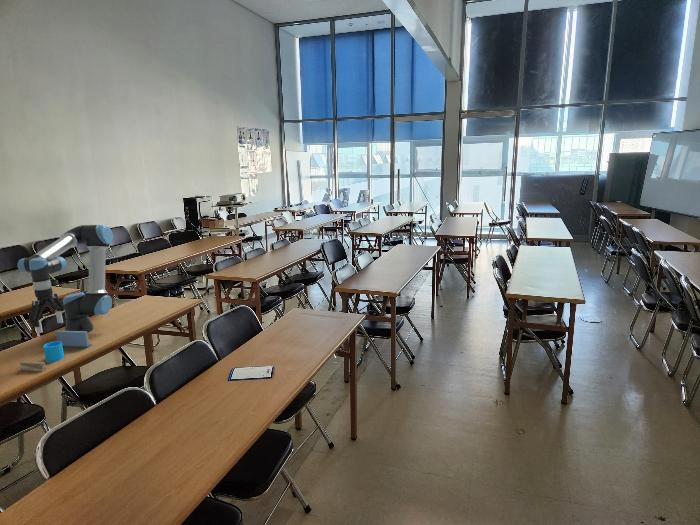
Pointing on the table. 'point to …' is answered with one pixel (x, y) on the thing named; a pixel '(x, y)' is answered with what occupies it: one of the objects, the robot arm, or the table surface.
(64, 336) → the screen
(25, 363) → the block
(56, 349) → the mug
